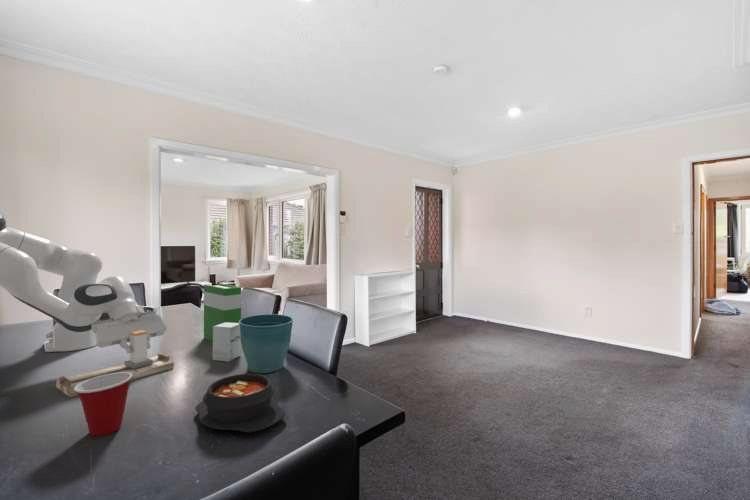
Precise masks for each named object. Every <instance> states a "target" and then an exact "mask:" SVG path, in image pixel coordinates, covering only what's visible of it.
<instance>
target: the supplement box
mask: <svg viewBox="0 0 750 500" xmlns="http://www.w3.org/2000/svg"><path fill="white" fill-rule="evenodd" d="M241 355H242V345H241V335H240V324H239V323H228V322H224V323H222V324H219V325H216V326H213V342H212V361H218V362H219V361H221V362H231V361H233V360H234V359H236V358H239V357H240V356H241Z"/></svg>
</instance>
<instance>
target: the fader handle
mask: <svg viewBox="0 0 750 500" xmlns="http://www.w3.org/2000/svg"><path fill="white" fill-rule="evenodd" d="M129 346H133V348H134V351H133V352H132V353H129V360H125V361H124V363H123V364H124V365H125V366H127V367H129V368H131V369H135V368H138V367H142V366H146V365H150V364H153V360H151V359H148V349H147V331H144V330H138V331H133V332H130V342H129Z"/></svg>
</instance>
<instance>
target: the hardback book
mask: <svg viewBox="0 0 750 500" xmlns="http://www.w3.org/2000/svg"><path fill="white" fill-rule="evenodd" d="M241 319H242V287H241V286H237V285H231V284H226V283H225V284H224V283H220V282H219V283H217V284H216V285H209V284H203V339H204V338H205V340H207V339H208V340H207V341H209V340H210V342H212V341H213V326H216V325H219V324H222V323H224V322H228V323H239V320H241Z"/></svg>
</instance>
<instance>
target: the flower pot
mask: <svg viewBox="0 0 750 500" xmlns="http://www.w3.org/2000/svg"><path fill="white" fill-rule="evenodd" d="M293 323H294V318H293V317H291V316H289V315H285V314H276V313H274V314H272V313H271V314H269V313H267V314H263V313H262V314H255V315H250V316H245V317H243V318H242V317H241V320H239V324H240V335H241V351H242V354H243V356H244V357H245V362H246V364H247V365H246V367H247V370H248V371H249V372H251V373H253V374H268V373H269V374H271V373H274V371H275V372H278V371H279V369H280V370H281V369H282V368H283V367H284V362H285V359H286V356H287V353H288V351H289V348H290V344H291V339H292V329H293Z"/></svg>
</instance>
